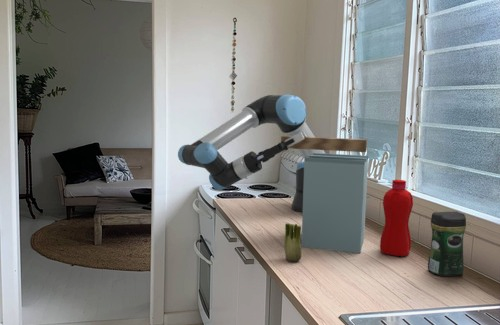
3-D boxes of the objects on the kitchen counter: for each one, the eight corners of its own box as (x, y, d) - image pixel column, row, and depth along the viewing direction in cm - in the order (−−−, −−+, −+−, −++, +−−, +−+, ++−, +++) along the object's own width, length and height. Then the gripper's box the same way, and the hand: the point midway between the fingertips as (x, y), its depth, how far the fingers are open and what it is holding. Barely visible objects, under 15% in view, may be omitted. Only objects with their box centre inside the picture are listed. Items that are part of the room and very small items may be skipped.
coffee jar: (450, 267, 145) (455, 208, 142) (467, 276, 137) (472, 214, 135) (422, 268, 143) (426, 209, 140) (438, 278, 135) (442, 215, 133)
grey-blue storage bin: (310, 233, 179) (313, 152, 176) (364, 239, 173) (368, 155, 170) (301, 246, 162) (304, 157, 159) (360, 253, 156) (364, 161, 153)
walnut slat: (280, 147, 163) (281, 136, 163) (283, 146, 167) (283, 135, 167) (365, 152, 155) (366, 140, 154) (366, 151, 158) (367, 139, 158)
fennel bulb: (282, 258, 150) (283, 222, 148) (295, 257, 151) (297, 221, 150) (289, 264, 144) (291, 226, 143) (304, 262, 146) (305, 225, 144)
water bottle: (412, 250, 161) (417, 178, 158) (405, 258, 152) (410, 183, 148) (386, 245, 166) (390, 176, 163) (377, 253, 156) (381, 180, 153)
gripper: (259, 171, 178) (313, 142, 170) (245, 177, 162) (304, 146, 154) (250, 153, 178) (304, 124, 171) (235, 157, 162) (293, 126, 154)
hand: (303, 135), depth 162 cm, fingers closed on walnut slat, 4 cm apart
